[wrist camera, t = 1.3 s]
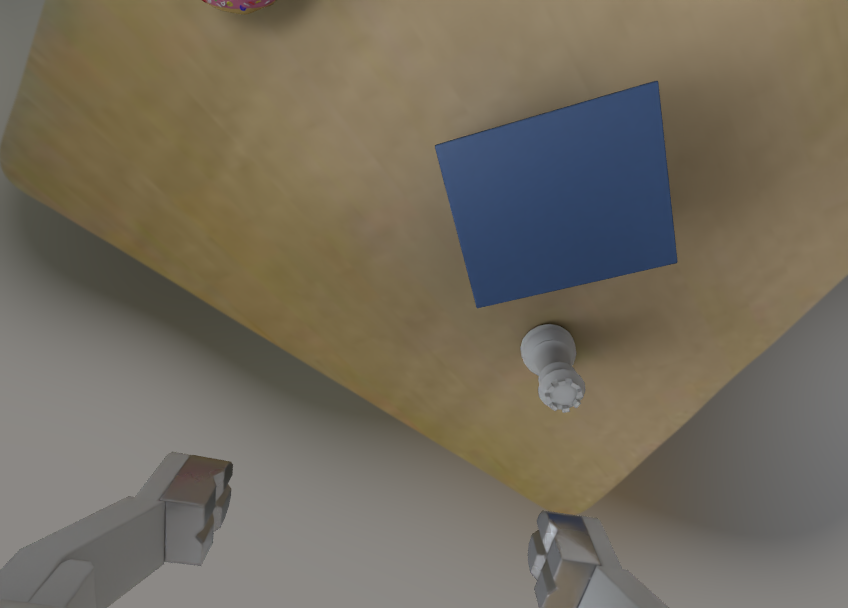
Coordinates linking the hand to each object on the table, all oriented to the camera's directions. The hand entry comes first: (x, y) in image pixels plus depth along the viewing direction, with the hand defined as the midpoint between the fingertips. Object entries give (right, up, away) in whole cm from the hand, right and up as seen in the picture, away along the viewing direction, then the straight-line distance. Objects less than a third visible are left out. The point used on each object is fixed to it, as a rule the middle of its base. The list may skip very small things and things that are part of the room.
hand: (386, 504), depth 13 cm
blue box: (+10, +14, +24) cm, 29 cm away
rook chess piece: (+11, +2, +28) cm, 31 cm away
